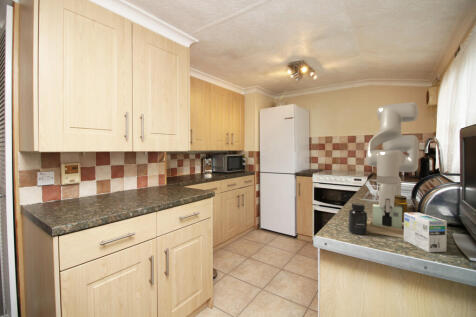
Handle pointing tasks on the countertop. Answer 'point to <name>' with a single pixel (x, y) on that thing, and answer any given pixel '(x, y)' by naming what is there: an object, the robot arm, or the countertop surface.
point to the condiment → (401, 204)
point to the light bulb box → (425, 232)
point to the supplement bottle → (357, 219)
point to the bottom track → (385, 230)
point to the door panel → (395, 214)
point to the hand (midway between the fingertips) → (386, 223)
